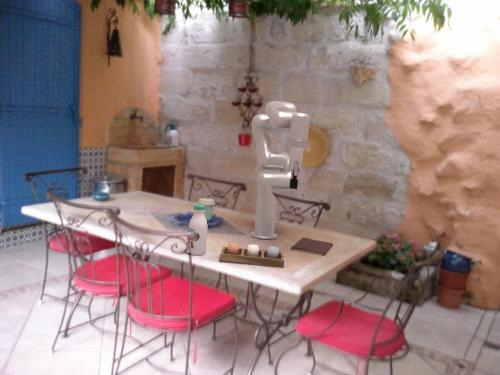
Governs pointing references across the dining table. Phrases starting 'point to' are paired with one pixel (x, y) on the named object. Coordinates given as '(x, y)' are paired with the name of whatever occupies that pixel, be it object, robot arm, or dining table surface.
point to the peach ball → (233, 248)
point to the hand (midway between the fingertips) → (293, 188)
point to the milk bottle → (198, 230)
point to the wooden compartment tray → (252, 258)
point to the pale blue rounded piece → (273, 252)
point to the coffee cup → (207, 207)
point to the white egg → (253, 250)
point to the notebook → (312, 246)
